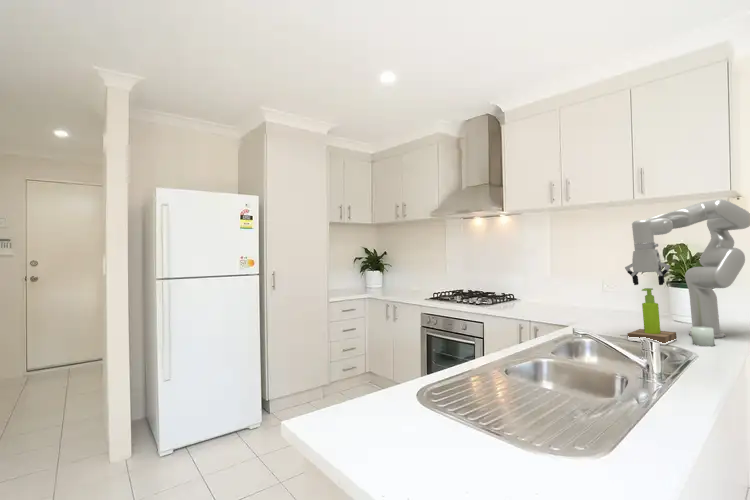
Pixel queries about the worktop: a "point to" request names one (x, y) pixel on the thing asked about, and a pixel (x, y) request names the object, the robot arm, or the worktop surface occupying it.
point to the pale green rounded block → (703, 336)
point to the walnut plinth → (654, 335)
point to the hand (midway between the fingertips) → (648, 284)
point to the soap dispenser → (650, 313)
